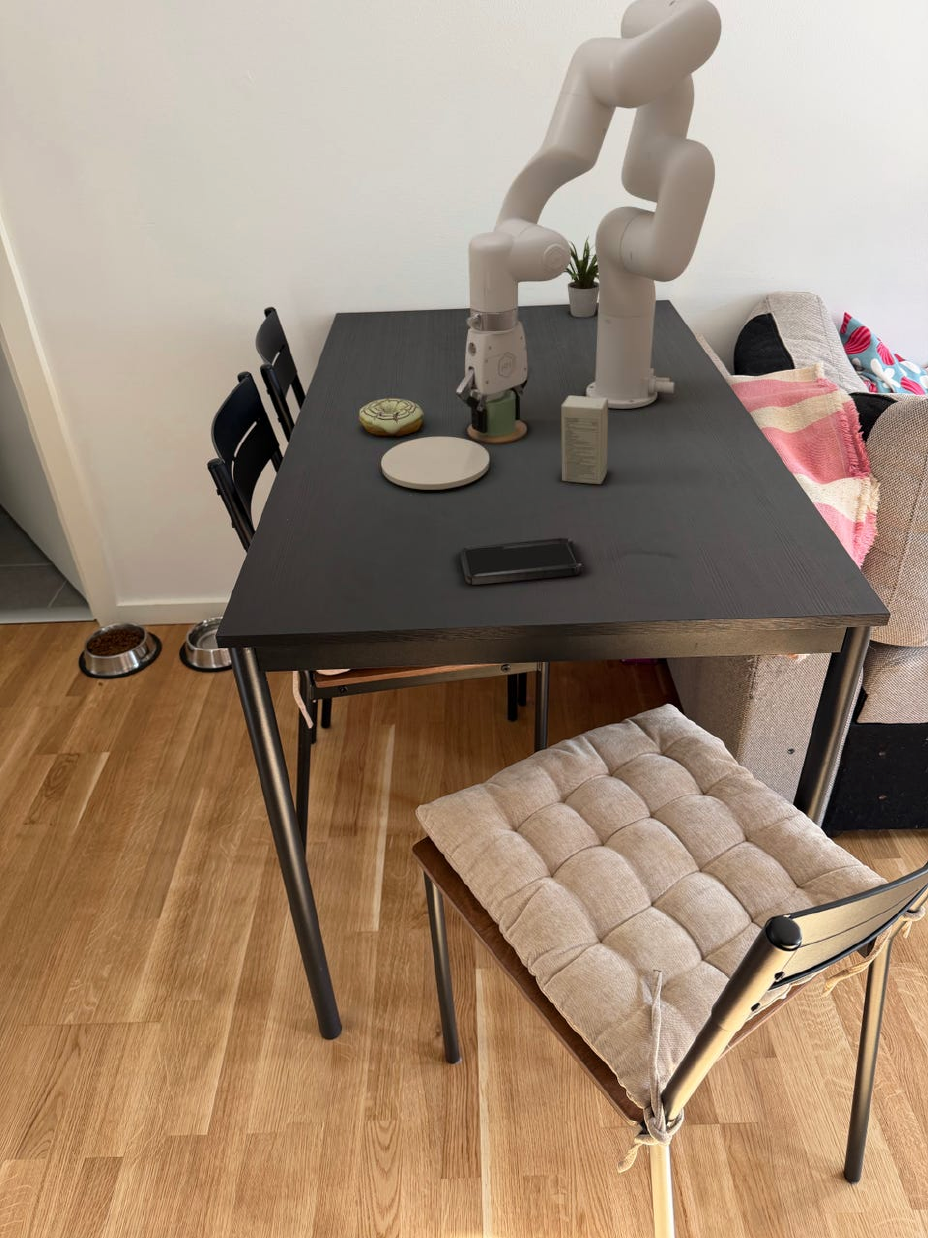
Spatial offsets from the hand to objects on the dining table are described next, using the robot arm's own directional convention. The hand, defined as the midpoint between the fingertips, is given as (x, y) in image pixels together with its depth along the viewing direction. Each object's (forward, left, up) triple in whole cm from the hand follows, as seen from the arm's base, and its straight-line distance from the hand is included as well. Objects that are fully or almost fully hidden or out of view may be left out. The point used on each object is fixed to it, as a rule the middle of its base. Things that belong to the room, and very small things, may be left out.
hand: (496, 423), depth 159 cm
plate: (+5, +16, -1) cm, 17 cm away
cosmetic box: (-18, +13, -2) cm, 22 cm away
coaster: (0, 0, -1) cm, 1 cm away
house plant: (+2, -64, -2) cm, 64 cm away
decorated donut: (+18, +3, -2) cm, 18 cm away
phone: (-16, +40, -2) cm, 43 cm away
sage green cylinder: (0, 0, -1) cm, 1 cm away
